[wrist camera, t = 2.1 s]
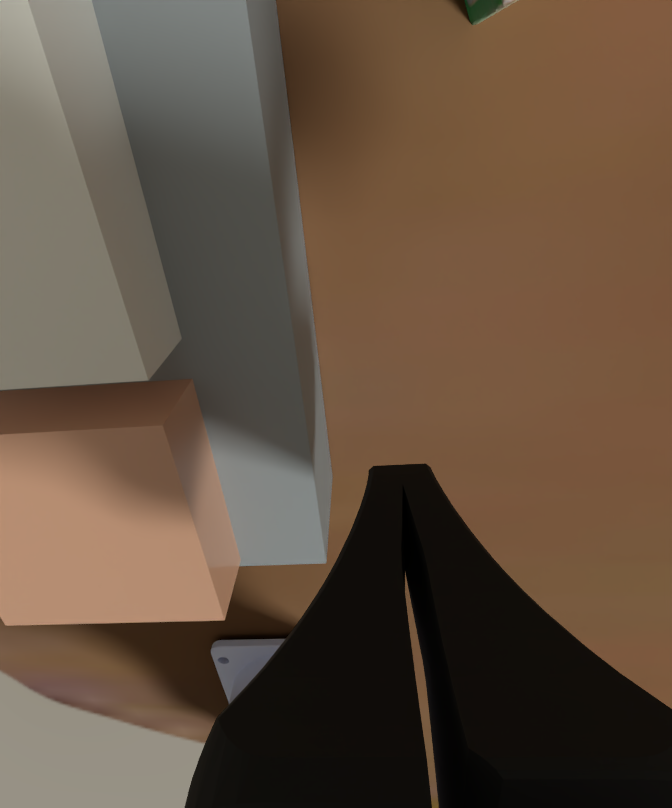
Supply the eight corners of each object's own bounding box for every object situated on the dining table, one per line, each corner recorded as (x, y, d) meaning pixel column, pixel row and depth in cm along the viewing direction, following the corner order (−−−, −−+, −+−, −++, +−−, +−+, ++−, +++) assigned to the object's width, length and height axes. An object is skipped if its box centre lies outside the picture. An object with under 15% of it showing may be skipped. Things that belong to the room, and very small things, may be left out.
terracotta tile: (240, 560, 14) (224, 620, 13) (47, 566, 15) (5, 625, 13) (192, 378, 11) (162, 425, 10) (-49, 394, 12) (-118, 441, 10)
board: (332, 476, 18) (326, 563, 14) (-54, 494, 19) (-146, 578, 15) (268, -56, 10) (225, -141, 7) (-349, 28, 12) (-646, -11, 8)
